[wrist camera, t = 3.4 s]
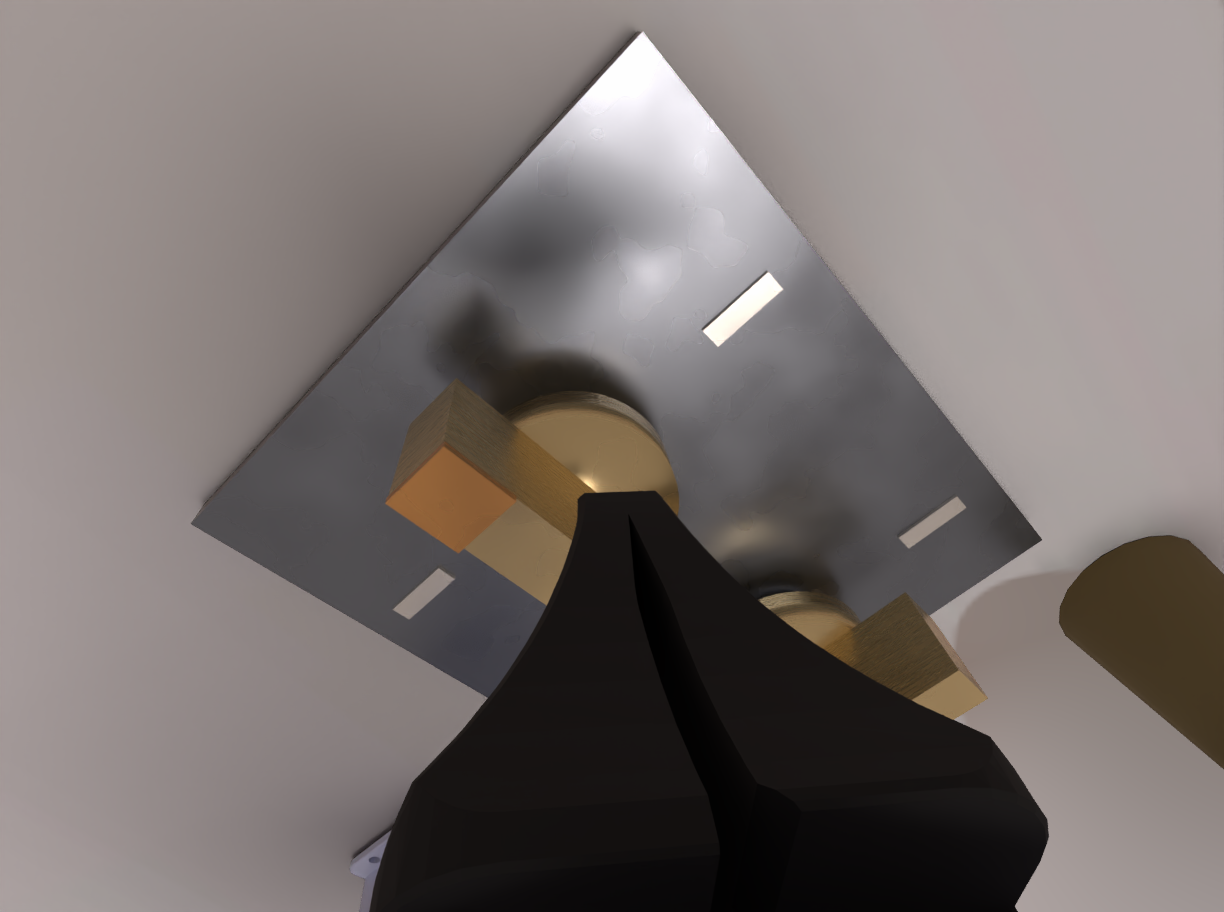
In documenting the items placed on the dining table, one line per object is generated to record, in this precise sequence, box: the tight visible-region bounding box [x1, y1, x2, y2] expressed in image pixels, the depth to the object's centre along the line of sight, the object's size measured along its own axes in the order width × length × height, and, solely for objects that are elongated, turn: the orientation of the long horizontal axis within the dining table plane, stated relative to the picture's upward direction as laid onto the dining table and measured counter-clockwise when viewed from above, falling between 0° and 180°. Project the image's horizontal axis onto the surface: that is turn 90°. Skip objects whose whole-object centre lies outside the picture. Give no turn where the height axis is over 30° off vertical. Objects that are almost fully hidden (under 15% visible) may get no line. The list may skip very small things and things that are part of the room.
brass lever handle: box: [385, 378, 679, 606], centre depth 19 cm, size 6×10×5 cm, turn 43°
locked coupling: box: [758, 591, 988, 720], centre depth 24 cm, size 6×10×5 cm, turn 133°
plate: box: [191, 31, 1042, 697], centre depth 24 cm, size 19×22×2 cm
